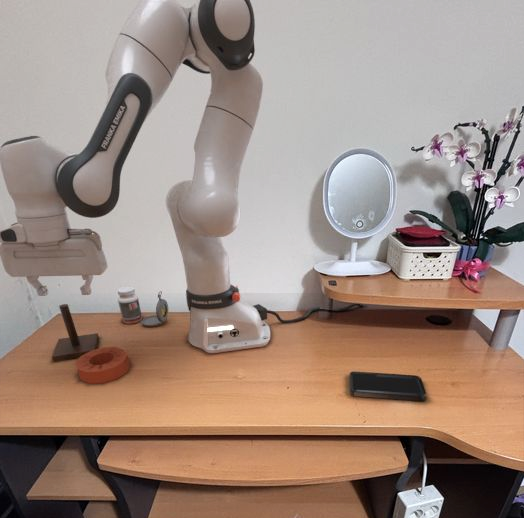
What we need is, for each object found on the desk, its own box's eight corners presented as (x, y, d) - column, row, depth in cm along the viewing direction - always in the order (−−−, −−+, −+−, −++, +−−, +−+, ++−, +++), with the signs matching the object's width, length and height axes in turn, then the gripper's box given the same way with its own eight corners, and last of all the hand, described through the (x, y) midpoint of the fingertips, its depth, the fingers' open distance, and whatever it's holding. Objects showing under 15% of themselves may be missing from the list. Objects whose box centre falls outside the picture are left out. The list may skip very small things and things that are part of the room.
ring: (134, 357, 95) (132, 346, 93) (121, 382, 85) (118, 370, 84) (90, 358, 95) (86, 347, 93) (71, 384, 85) (67, 372, 84)
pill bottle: (146, 319, 115) (139, 288, 110) (129, 325, 111) (122, 294, 106) (135, 314, 118) (129, 284, 113) (119, 320, 114) (111, 289, 109)
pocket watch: (140, 320, 114) (133, 289, 109) (168, 315, 117) (163, 284, 112) (144, 331, 107) (137, 299, 102) (173, 325, 110) (168, 293, 105)
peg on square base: (99, 337, 105) (87, 295, 99) (95, 355, 97) (82, 310, 90) (60, 343, 103) (45, 301, 96) (53, 361, 94) (37, 316, 88)
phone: (427, 397, 75) (350, 391, 78) (426, 401, 76) (350, 395, 78) (420, 375, 82) (349, 370, 84) (419, 379, 82) (349, 374, 85)
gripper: (103, 225, 78) (117, 288, 85) (5, 227, 78) (27, 290, 85) (92, 231, 73) (107, 298, 79) (-14, 234, 73) (11, 300, 79)
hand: (65, 294), depth 82 cm, fingers open, 8 cm apart
